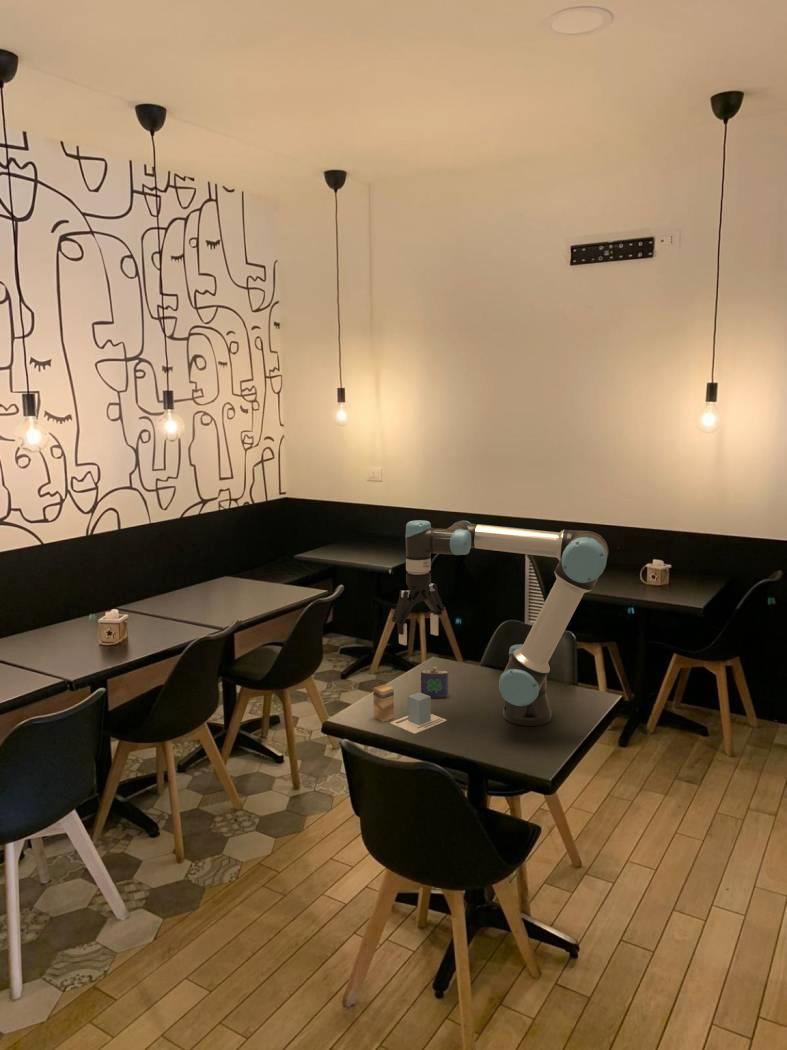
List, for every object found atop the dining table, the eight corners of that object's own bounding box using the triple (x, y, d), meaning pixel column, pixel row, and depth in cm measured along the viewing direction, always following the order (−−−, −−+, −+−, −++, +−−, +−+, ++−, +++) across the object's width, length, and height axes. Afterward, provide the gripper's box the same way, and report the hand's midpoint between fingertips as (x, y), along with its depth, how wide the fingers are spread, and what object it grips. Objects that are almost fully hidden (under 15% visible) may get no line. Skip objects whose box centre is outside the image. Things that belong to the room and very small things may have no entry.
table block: (394, 718, 250) (393, 687, 248) (383, 722, 247) (382, 691, 245) (384, 714, 253) (383, 684, 251) (373, 718, 250) (373, 687, 248)
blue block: (430, 720, 247) (430, 696, 245) (419, 725, 243) (419, 700, 242) (419, 716, 250) (419, 692, 249) (408, 720, 247) (407, 696, 246)
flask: (448, 695, 268) (448, 665, 266) (448, 698, 265) (448, 668, 263) (421, 695, 268) (420, 665, 267) (420, 698, 265) (420, 668, 264)
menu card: (446, 720, 247) (446, 719, 247) (414, 734, 238) (414, 733, 238) (421, 711, 255) (421, 710, 255) (390, 723, 246) (390, 722, 246)
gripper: (396, 580, 228) (397, 651, 231) (455, 567, 245) (455, 633, 248) (379, 576, 233) (380, 645, 237) (438, 563, 250) (438, 628, 253)
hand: (418, 639), depth 242 cm, fingers open, 13 cm apart
